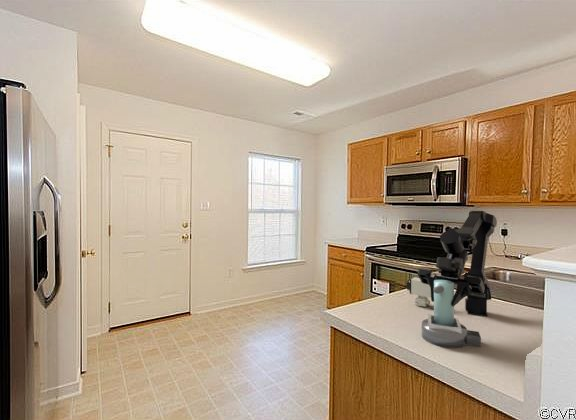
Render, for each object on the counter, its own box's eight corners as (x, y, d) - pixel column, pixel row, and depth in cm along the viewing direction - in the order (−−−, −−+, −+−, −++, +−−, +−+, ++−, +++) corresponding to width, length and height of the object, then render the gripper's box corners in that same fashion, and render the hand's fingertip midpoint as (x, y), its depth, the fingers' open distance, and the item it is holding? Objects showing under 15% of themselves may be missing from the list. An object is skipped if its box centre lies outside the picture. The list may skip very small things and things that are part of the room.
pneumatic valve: (436, 310, 119) (436, 280, 119) (406, 304, 127) (406, 276, 126) (439, 306, 123) (439, 277, 123) (410, 300, 131) (410, 273, 131)
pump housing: (438, 318, 98) (438, 278, 98) (456, 323, 94) (456, 282, 94) (427, 325, 93) (427, 283, 92) (446, 331, 88) (446, 287, 88)
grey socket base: (476, 335, 96) (476, 318, 96) (483, 353, 85) (483, 334, 84) (421, 327, 103) (421, 311, 102) (421, 343, 91) (421, 325, 91)
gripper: (419, 244, 103) (404, 282, 96) (482, 250, 89) (469, 295, 82) (429, 264, 109) (415, 301, 102) (489, 272, 95) (478, 316, 88)
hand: (442, 303), depth 93 cm, fingers closed on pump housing, 6 cm apart
